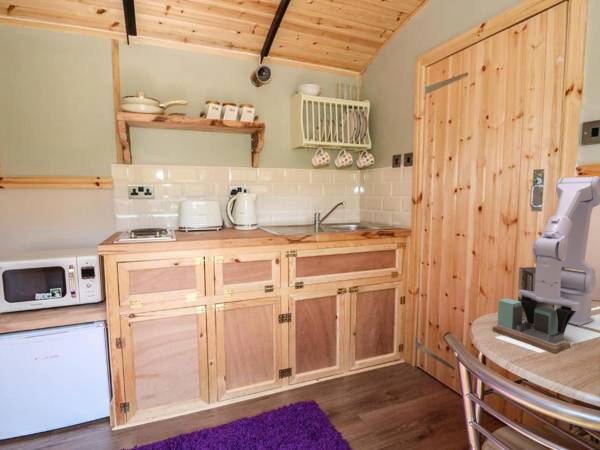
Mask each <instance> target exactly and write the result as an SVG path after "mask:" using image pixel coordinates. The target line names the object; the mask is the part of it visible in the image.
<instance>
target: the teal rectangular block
mask: <svg viewBox="0 0 600 450" xmlns="http://www.w3.org/2000/svg"><path fill="white" fill-rule="evenodd" d="M557 328H558V317H557V312H556V309H554V310H553V309H549V308H546V307H540V308H537V309H535V314H534V326H533V329H534V330H537V331H540V332H543V333H546V334H549V335H552V334H555V333H558V332H557Z"/></svg>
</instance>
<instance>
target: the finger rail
mask: <svg viewBox="0 0 600 450" xmlns="http://www.w3.org/2000/svg"><path fill="white" fill-rule="evenodd" d="M522 308H523V306H522V305H521V302H520V301H518V300H515V299H511V298H508V297H507V298H503V299H499V300H498V308H497V324H496V325H495V326H493V327H492V331H493V332H494V333H496V334H497V333H498V334H499V335H503V336H506V337H508V338H512V339H514V340H517V341H519V342H522V343H525V344H528V345H531V346H533V347H535V348H536V347H537V348H539V349H542V350H544V351H546V352H550V353H552V354H558V353H560V352H562V351H564V350H568V349H569V348H571V342H570V341H567V339H565V332H564V333H562V332H557V333H555V334H552V335H549V334H546V333H543V332H540V331H537V330H534V328H532V326H531V323H530V322H526V321H524V322H523V319H522Z"/></svg>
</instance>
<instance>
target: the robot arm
mask: <svg viewBox="0 0 600 450" xmlns="http://www.w3.org/2000/svg"><path fill="white" fill-rule="evenodd" d="M555 191H556V195H557V199H558V203H557V206H556V210H555V214H554V215H553V216H550V217H549V218H548V219H547V220H546V221H547V222H546V225H545V226H544V229H543V231H542V233H541V234H540V237H538V238H536V239H535V240H534V241H533V244H532V255H533V262H534V264H535V267H536V275H535V292H533V291H527V290H518V289H517V290H518V291H517V298H518V297H521V298H522V299H521V300H519V301H520V302H521V305H522V306H523V309H524V311H525V314H526V318H527V322H530V323H531V324H534V314H535V309H536V305H537V301H540V302H544V303H548V304H552V305H554V306H556V309H555V310H556V312H557V317H558V328H557V333H558V332H562V333H564V334H565V332H566V329H567V327H568V326H567V325H568V324H570V325H574V326H583V325H585V324H587V323H590V322H594V321H595V318H594V317H592V305H593V304H592V303H593V301H592V300H593V299H592V297H591V295H590V294H591V293H593V292H594V291H595V288H596V280H597V279H596V269H595V268H594V267H593V266H592V265H591V264H589V263H588V262H587V261H586V254H587V253H586V252H587V245H588V239H589V232H590V226H591V225H590V223H591V217H592V212H593V209H594V208H595V207H597V206H599V205H600V176H598V175H595V176H581V177H580V176H578V177H577V176H576V177H560V178H558V180H557V182H556V184H555ZM577 270H578V271H577Z"/></svg>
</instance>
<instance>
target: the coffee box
mask: <svg viewBox="0 0 600 450" xmlns="http://www.w3.org/2000/svg"><path fill="white" fill-rule="evenodd" d="M535 275H536V266H535V267H534V266H533V267H532V266H531V267H529V266H528V267H518V285H517V286H518V287H517V290H527V291H533V292H535ZM521 299H522V298H521V297H518V296H517V301H519V300H521ZM540 307H546V308H549V309H553V310H555V305H552V304H548V303H544V302H540V301H537V305H536V309H537V308H540ZM522 321H524V322H527V318H526V314H525V311H524V309H523V308H522ZM532 326H533V327H534V324H531V327H532Z"/></svg>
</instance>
